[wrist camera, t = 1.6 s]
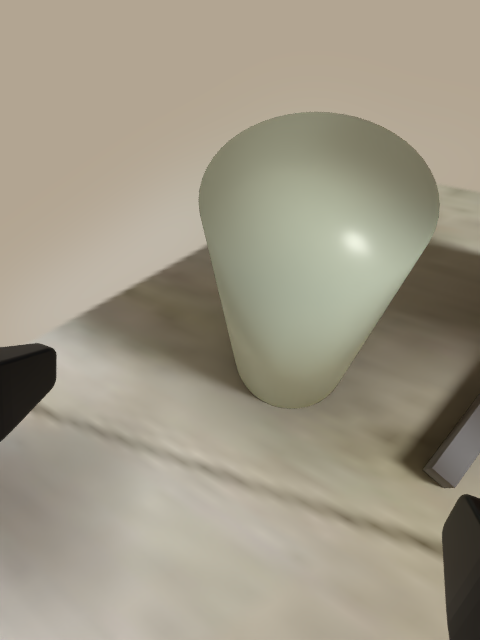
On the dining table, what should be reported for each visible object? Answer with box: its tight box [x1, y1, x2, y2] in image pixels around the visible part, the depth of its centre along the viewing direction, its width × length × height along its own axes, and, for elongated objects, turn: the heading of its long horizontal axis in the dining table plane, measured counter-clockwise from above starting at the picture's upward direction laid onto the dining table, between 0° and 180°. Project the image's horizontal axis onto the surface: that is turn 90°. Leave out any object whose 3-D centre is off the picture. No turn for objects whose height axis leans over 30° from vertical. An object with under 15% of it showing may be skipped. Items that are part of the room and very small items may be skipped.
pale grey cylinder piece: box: [199, 112, 440, 409], centre depth 16 cm, size 6×6×13 cm
